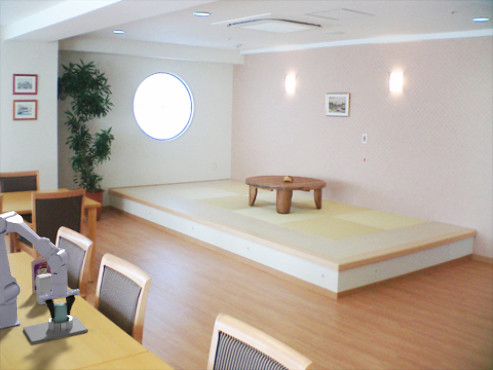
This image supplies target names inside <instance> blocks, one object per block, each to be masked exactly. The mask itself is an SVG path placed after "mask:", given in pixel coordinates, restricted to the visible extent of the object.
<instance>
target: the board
mask: <svg viewBox="0 0 493 370" xmlns="http://www.w3.org/2000/svg"><path fill="white" fill-rule="evenodd" d="M72 318H73V327H72V328H71V329H69V330H67V331H63V332H53V331H50V330H49V329H48V322H42V323H38V324H33V325H29V326H23V331H24V333H25V334H26V336H27V338H28V339H29V341H30V343H31V345H35V344H39V343H43V342H49V341H51V340H56V339H60V338H65V337H70V336H75V335H78V334H83V333H84V334H85V333H87V332H88V327H86V326H85V325H84V323H82V320H80V319H79V318H78V317H77V316H76V315H75V316H72Z"/></svg>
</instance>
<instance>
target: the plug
mask: <svg viewBox="0 0 493 370" xmlns="http://www.w3.org/2000/svg"><path fill="white" fill-rule="evenodd" d="M53 321H54V323H62V322H66V321H67V303H66V302H63V301H62V302H61V301H60V302H56V303H55V302H54V319H53Z"/></svg>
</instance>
